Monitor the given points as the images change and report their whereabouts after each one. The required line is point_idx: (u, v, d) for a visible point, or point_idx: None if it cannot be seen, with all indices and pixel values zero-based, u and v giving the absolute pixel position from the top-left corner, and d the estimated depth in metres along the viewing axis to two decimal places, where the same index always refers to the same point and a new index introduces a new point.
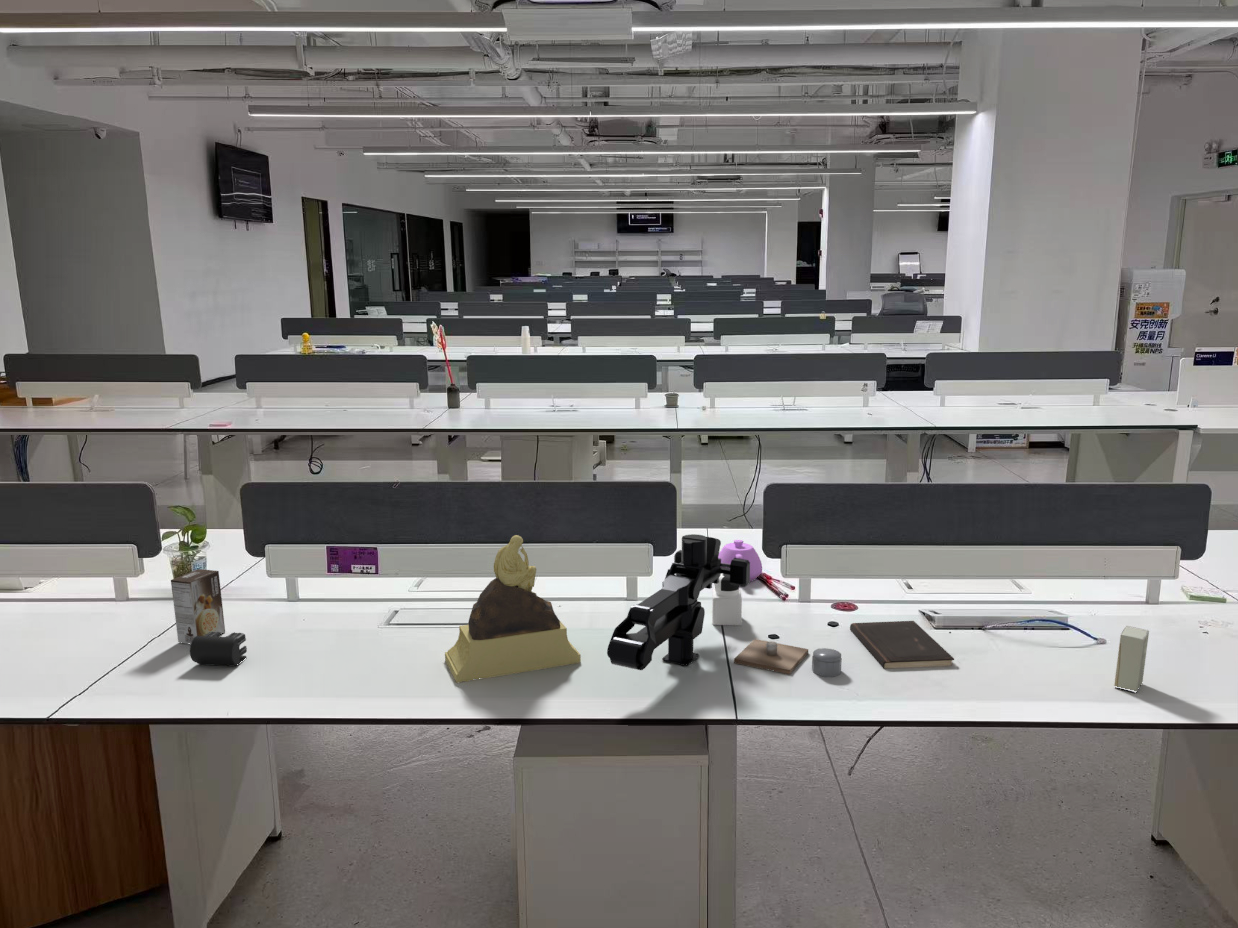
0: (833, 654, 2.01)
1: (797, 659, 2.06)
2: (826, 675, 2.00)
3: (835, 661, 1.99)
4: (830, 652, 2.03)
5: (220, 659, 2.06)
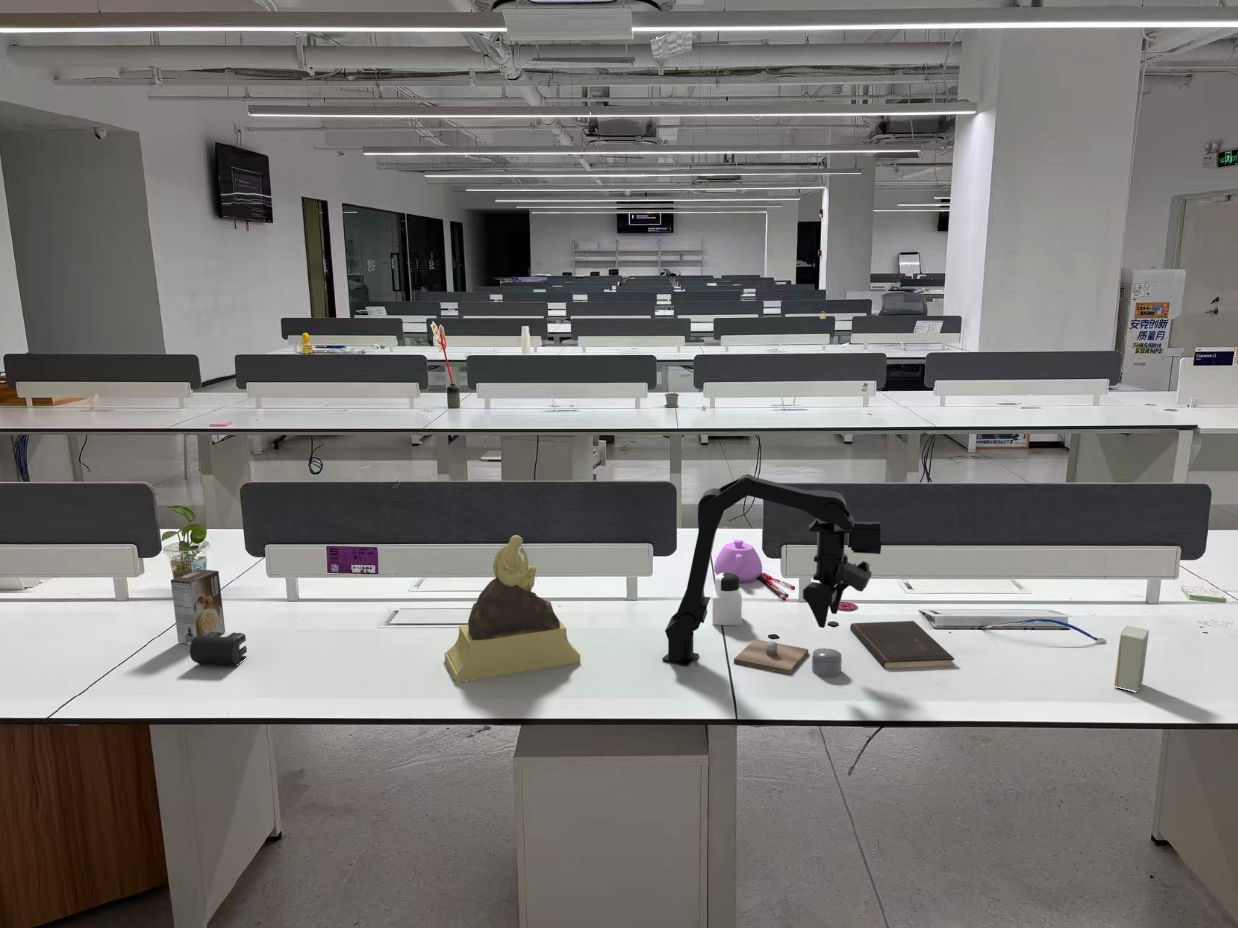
0: (833, 654, 2.01)
1: (797, 659, 2.06)
2: (826, 675, 2.00)
3: (835, 661, 1.99)
4: (830, 652, 2.03)
5: (220, 659, 2.06)
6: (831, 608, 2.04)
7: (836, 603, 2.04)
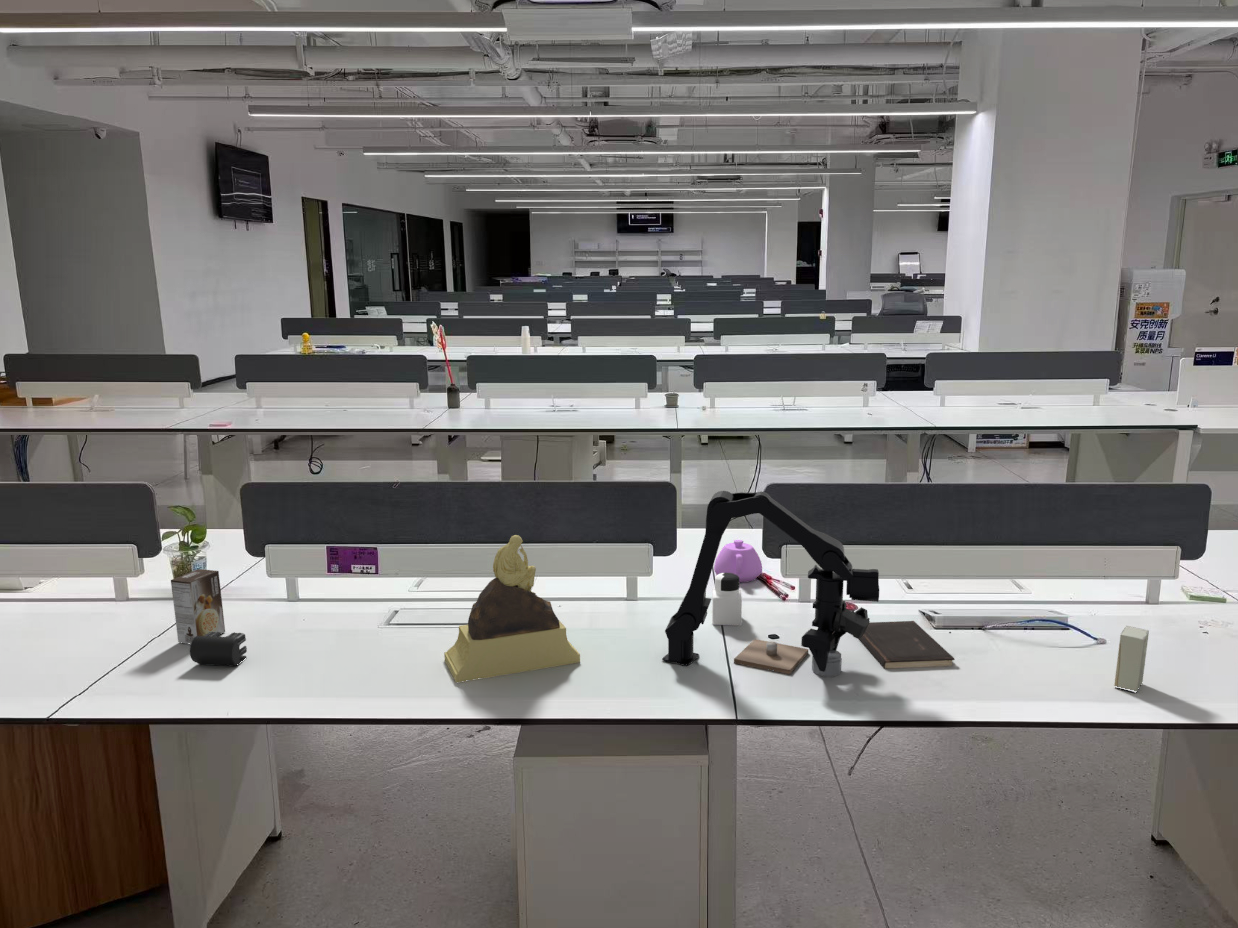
0: (833, 654, 2.01)
1: (797, 659, 2.06)
2: (826, 675, 2.00)
3: (835, 661, 1.99)
4: (830, 652, 2.03)
5: (220, 659, 2.06)
6: None
7: None
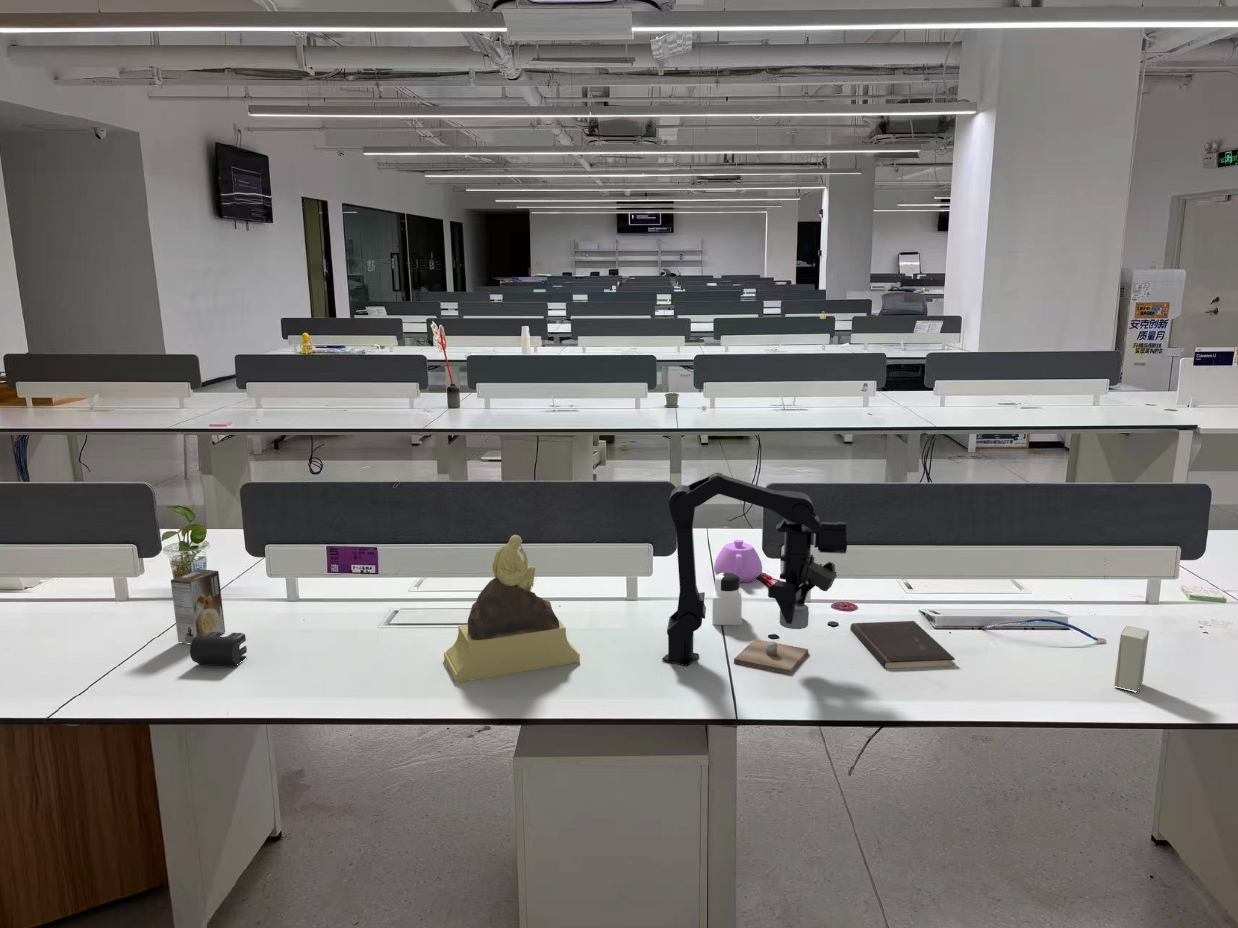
0: (800, 607, 2.04)
1: (797, 659, 2.06)
2: (793, 627, 2.02)
3: (802, 614, 2.02)
4: (798, 605, 2.05)
5: (220, 659, 2.06)
6: None
7: None
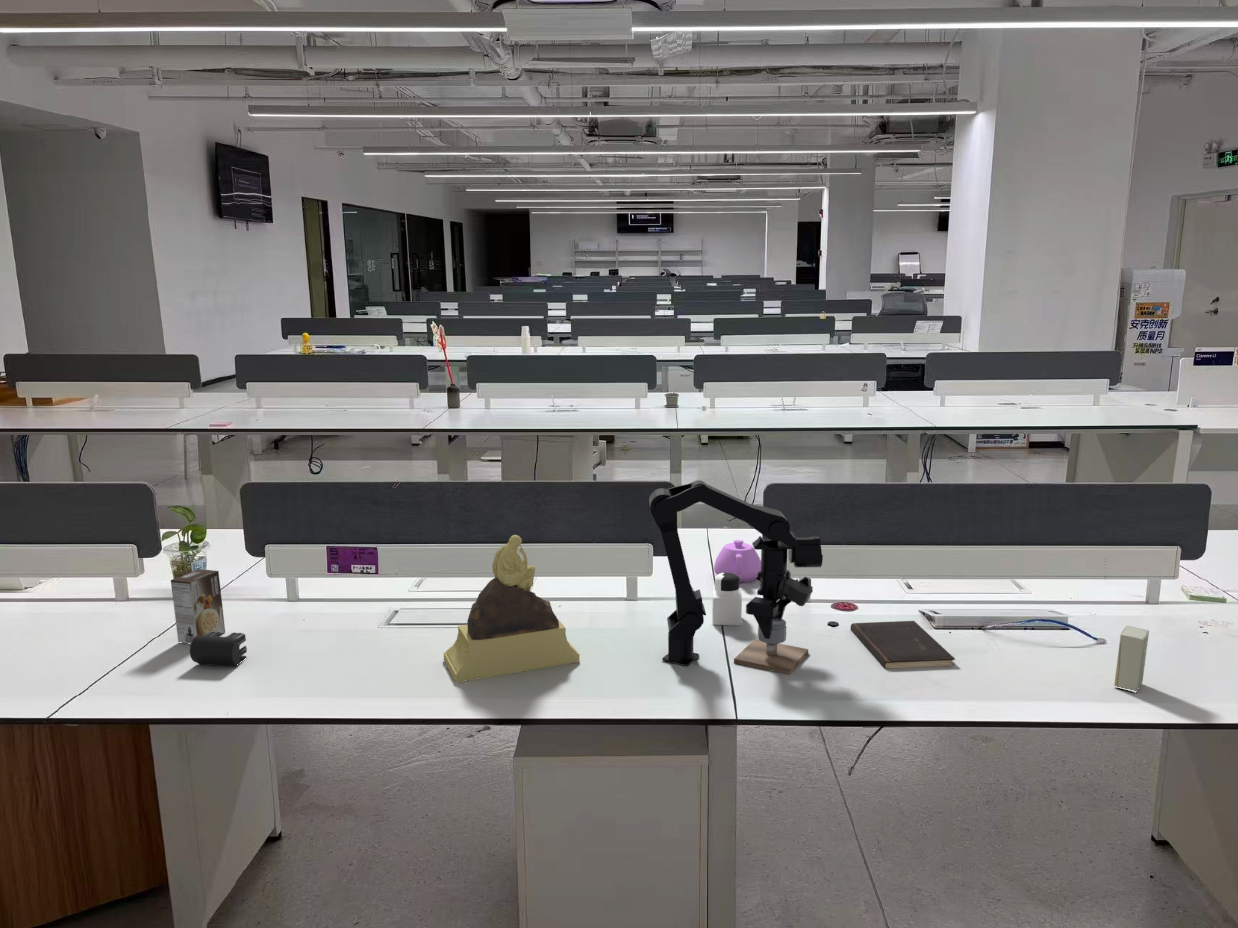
0: (778, 622, 2.08)
1: (797, 659, 2.06)
2: (771, 642, 2.06)
3: (779, 628, 2.05)
4: (775, 620, 2.09)
5: (220, 659, 2.06)
6: None
7: None
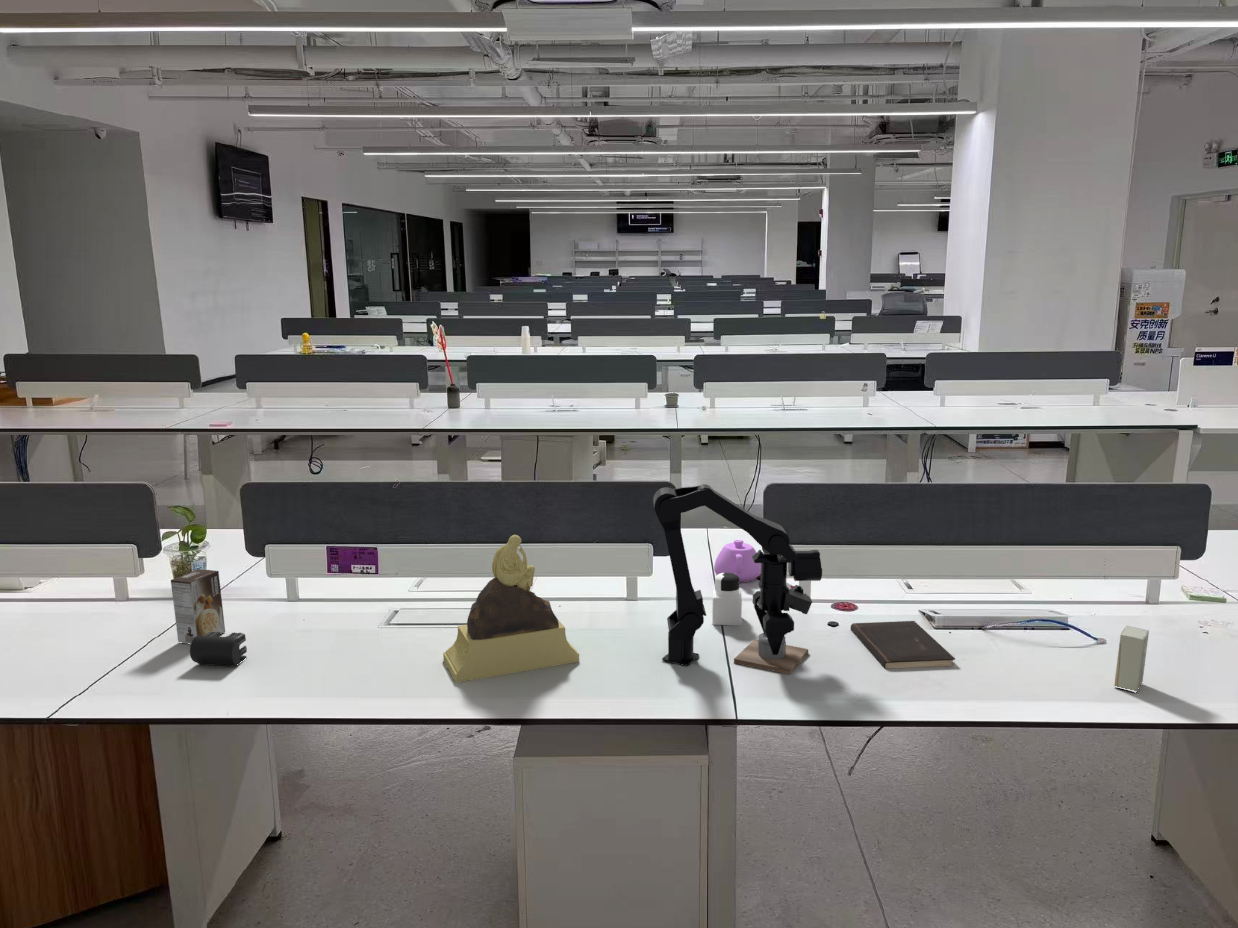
0: None
1: (797, 659, 2.06)
2: (777, 657, 2.07)
3: (783, 642, 2.07)
4: None
5: (220, 659, 2.06)
6: None
7: None
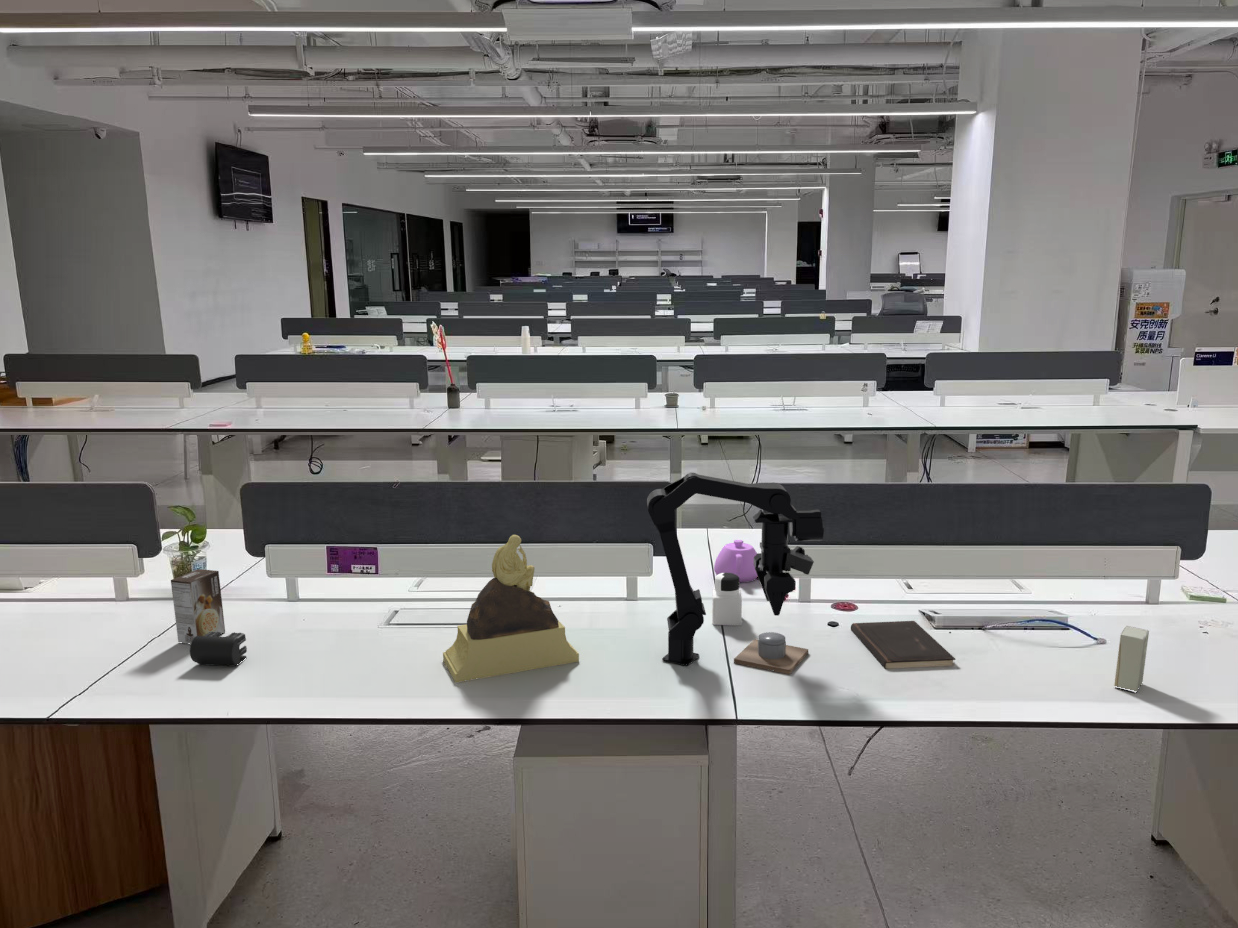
0: (777, 636, 2.09)
1: (797, 659, 2.06)
2: (777, 657, 2.07)
3: (783, 642, 2.07)
4: (773, 635, 2.10)
5: (220, 659, 2.06)
6: (767, 596, 2.11)
7: None
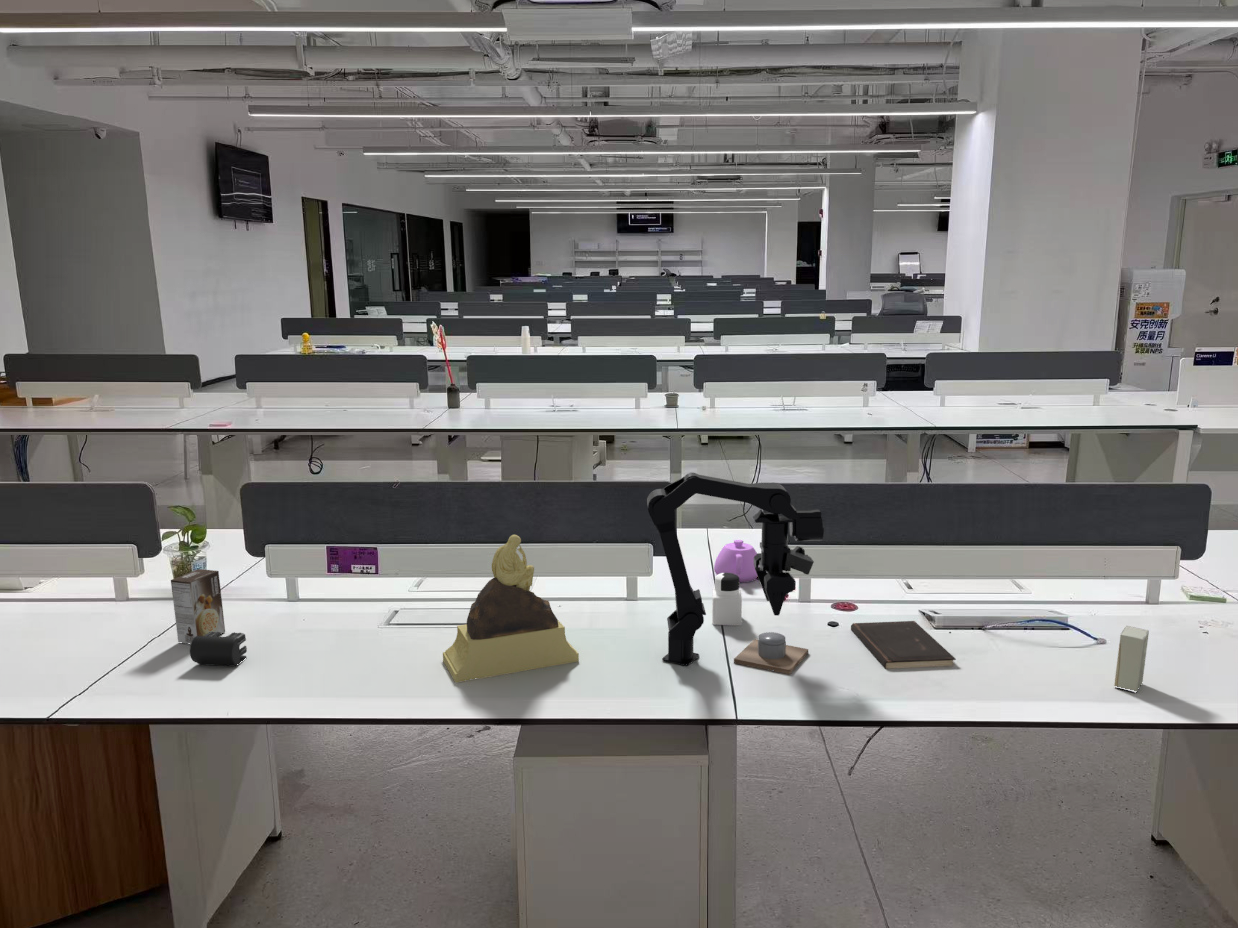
0: (777, 636, 2.09)
1: (797, 659, 2.06)
2: (777, 657, 2.07)
3: (783, 642, 2.07)
4: (773, 635, 2.10)
5: (220, 659, 2.06)
6: (767, 596, 2.11)
7: None
